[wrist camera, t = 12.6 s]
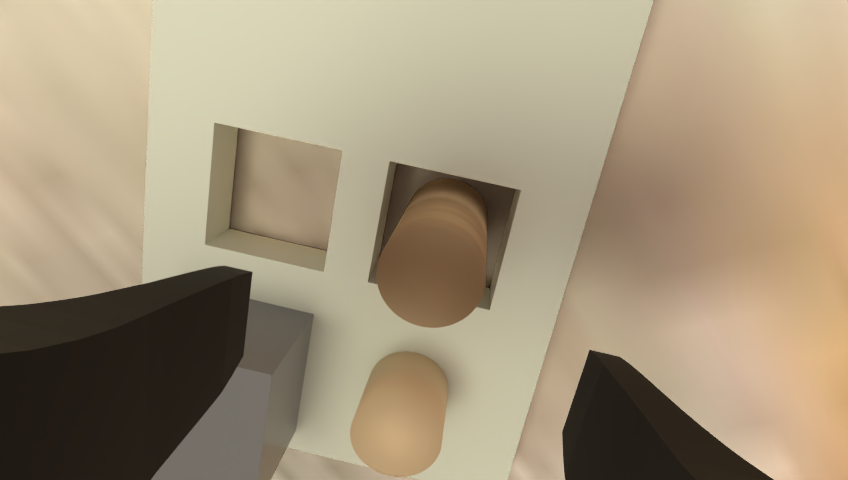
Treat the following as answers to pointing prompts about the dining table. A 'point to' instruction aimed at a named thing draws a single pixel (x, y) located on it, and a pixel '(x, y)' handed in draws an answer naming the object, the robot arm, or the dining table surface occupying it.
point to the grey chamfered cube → (250, 404)
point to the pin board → (371, 189)
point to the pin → (436, 256)
